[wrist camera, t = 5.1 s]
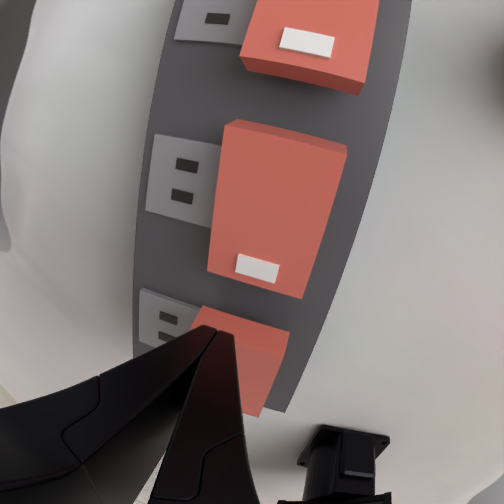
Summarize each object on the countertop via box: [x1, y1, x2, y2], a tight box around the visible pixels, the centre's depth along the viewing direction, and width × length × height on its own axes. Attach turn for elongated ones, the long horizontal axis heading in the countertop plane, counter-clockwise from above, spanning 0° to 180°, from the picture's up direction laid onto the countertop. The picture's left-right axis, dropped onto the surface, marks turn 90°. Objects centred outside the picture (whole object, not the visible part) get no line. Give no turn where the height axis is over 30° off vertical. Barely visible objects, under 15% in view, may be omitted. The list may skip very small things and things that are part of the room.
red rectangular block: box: [190, 306, 290, 417], centre depth 15 cm, size 6×4×2 cm, turn 169°
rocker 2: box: [207, 119, 347, 299], centre depth 12 cm, size 6×4×2 cm, turn 168°
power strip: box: [133, 0, 412, 413], centre depth 13 cm, size 34×10×5 cm, turn 168°
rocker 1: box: [239, 0, 379, 96], centre depth 9 cm, size 6×4×2 cm, turn 168°
